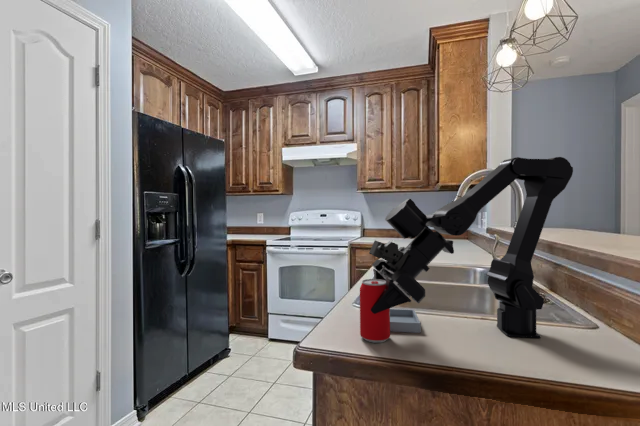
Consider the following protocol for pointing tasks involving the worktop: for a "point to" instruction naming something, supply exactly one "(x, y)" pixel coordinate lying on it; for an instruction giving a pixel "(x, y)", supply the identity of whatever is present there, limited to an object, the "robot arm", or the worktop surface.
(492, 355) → the worktop surface
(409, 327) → the tray
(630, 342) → the worktop surface
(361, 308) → the beverage can
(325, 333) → the worktop surface
